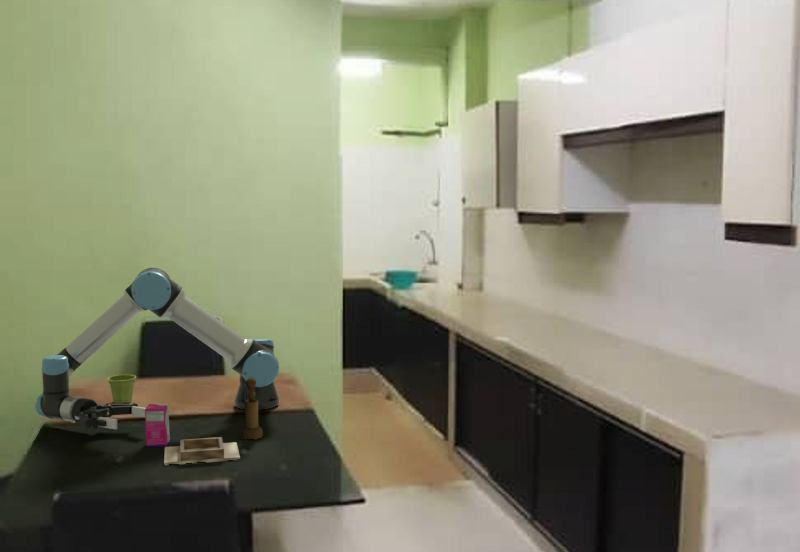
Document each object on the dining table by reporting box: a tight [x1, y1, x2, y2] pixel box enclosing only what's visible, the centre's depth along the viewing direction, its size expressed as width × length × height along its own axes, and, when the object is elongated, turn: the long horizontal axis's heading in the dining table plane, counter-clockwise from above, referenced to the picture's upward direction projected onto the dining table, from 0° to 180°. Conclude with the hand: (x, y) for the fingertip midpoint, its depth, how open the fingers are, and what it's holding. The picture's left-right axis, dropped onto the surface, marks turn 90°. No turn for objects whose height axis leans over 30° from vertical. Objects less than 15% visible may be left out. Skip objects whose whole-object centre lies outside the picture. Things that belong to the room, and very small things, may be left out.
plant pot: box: [107, 374, 137, 404], centre depth 286 cm, size 9×9×9 cm
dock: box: [163, 436, 241, 466], centre depth 230 cm, size 20×14×3 cm
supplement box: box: [144, 402, 171, 448], centre depth 239 cm, size 6×6×12 cm
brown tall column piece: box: [240, 378, 264, 440], centre depth 246 cm, size 7×6×18 cm
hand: (133, 418), depth 242 cm, fingers open, 13 cm apart
